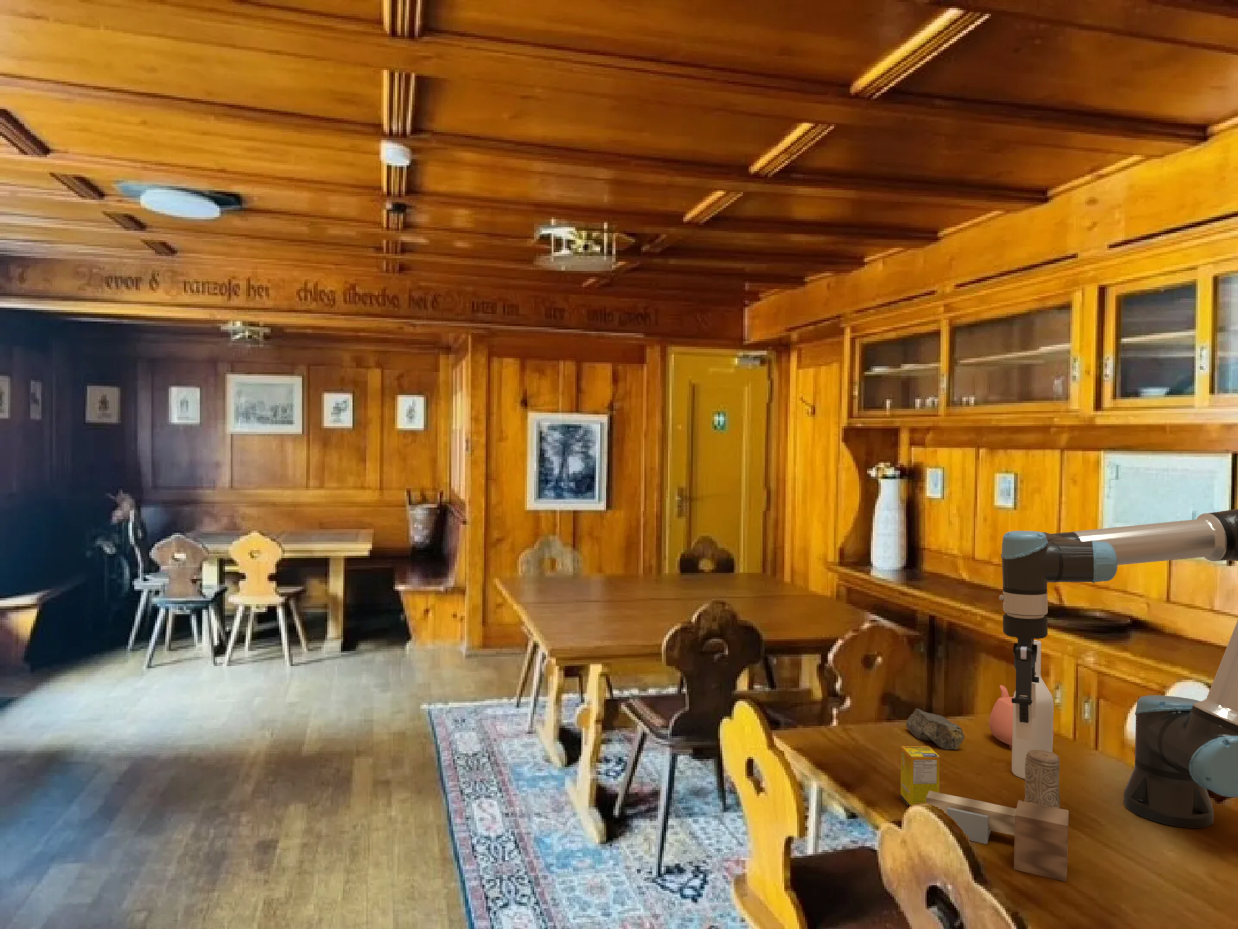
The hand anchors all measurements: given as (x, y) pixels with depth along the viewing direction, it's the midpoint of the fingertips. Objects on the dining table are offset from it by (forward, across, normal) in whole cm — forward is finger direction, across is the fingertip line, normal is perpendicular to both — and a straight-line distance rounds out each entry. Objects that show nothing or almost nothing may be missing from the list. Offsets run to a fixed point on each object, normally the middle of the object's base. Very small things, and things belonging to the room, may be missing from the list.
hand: (1026, 727), depth 156 cm
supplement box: (+20, -5, -20) cm, 29 cm away
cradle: (+20, +4, -10) cm, 23 cm away
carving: (+21, -13, +2) cm, 25 cm away
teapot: (+22, -55, -4) cm, 59 cm away
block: (+20, +11, +2) cm, 24 cm away
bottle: (+21, -34, -1) cm, 40 cm away
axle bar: (+18, +4, -9) cm, 21 cm away
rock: (+21, -46, -23) cm, 55 cm away
